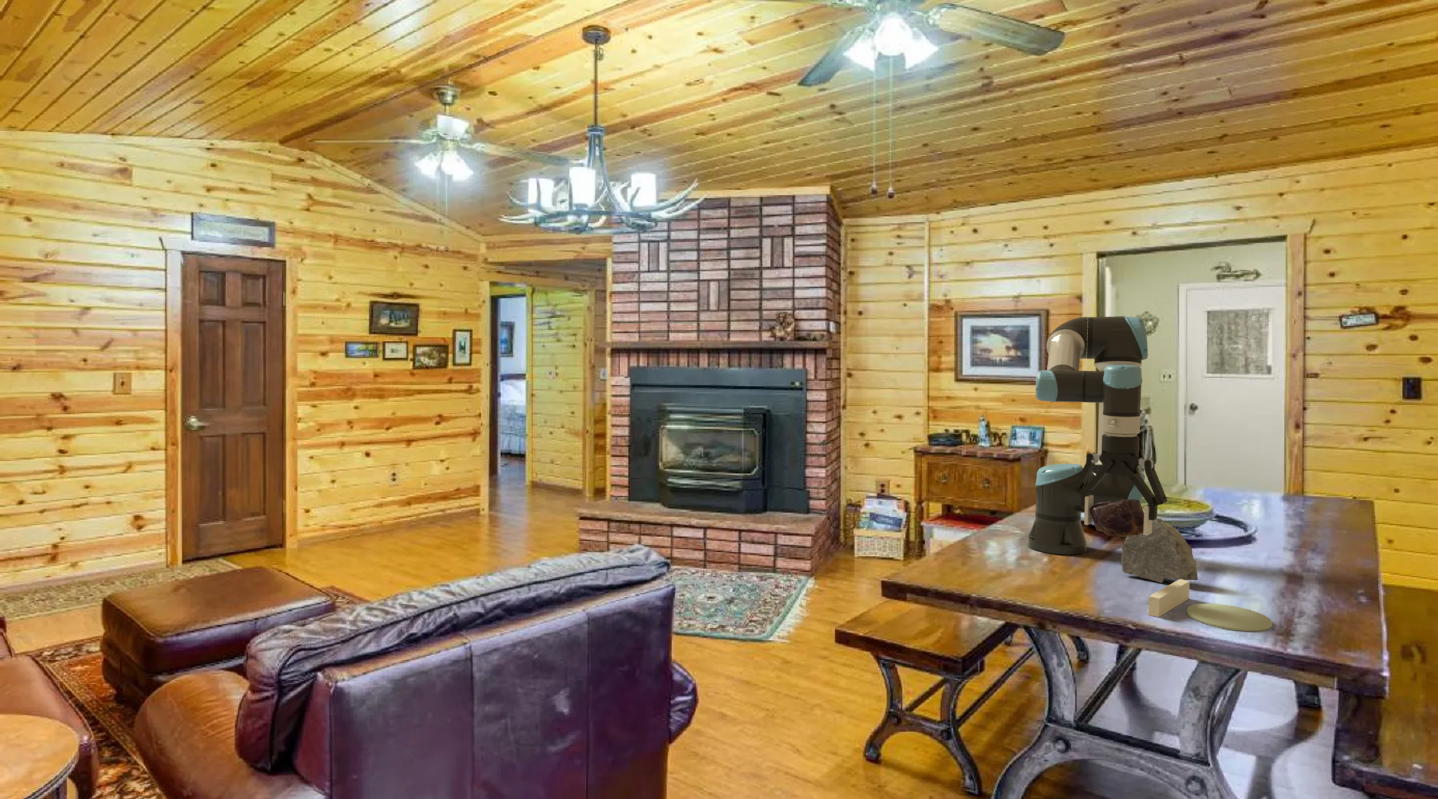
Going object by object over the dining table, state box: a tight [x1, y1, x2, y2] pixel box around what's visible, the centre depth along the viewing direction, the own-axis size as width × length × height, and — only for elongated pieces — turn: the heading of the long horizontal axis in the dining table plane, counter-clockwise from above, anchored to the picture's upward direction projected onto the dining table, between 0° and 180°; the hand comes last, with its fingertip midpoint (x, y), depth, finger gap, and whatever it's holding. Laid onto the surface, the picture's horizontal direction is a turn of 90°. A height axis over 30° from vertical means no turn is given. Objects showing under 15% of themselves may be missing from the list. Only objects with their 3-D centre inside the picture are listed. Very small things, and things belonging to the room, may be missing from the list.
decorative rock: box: [1120, 517, 1199, 584], centre depth 193 cm, size 16×7×15 cm, turn 43°
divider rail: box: [1147, 579, 1191, 618], centre depth 174 cm, size 2×18×4 cm, turn 132°
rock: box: [1089, 499, 1144, 538], centre depth 181 cm, size 12×9×10 cm
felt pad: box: [1186, 603, 1273, 632], centre depth 167 cm, size 15×15×1 cm
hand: (1117, 528), depth 181 cm, fingers closed on rock, 12 cm apart
